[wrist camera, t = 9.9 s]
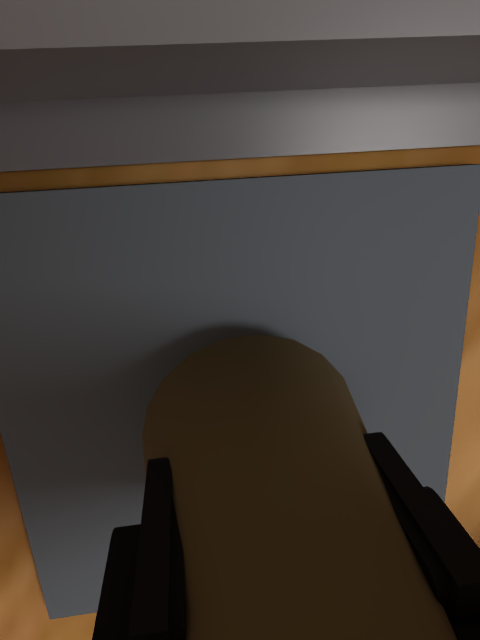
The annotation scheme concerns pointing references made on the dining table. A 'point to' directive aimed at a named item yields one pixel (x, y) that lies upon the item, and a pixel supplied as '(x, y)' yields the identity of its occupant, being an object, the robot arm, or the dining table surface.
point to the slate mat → (216, 325)
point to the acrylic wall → (233, 79)
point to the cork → (282, 502)
